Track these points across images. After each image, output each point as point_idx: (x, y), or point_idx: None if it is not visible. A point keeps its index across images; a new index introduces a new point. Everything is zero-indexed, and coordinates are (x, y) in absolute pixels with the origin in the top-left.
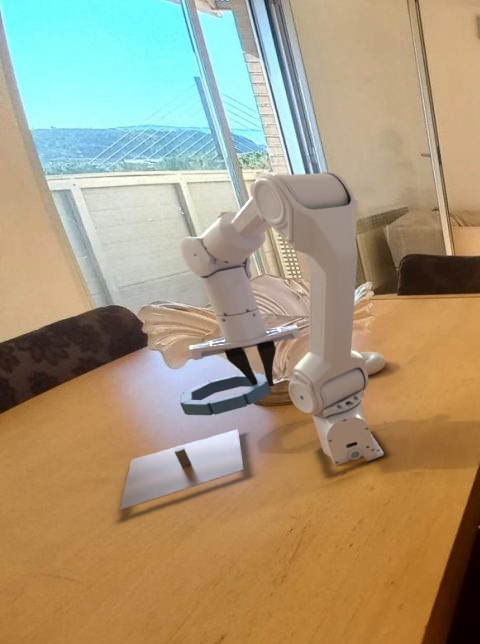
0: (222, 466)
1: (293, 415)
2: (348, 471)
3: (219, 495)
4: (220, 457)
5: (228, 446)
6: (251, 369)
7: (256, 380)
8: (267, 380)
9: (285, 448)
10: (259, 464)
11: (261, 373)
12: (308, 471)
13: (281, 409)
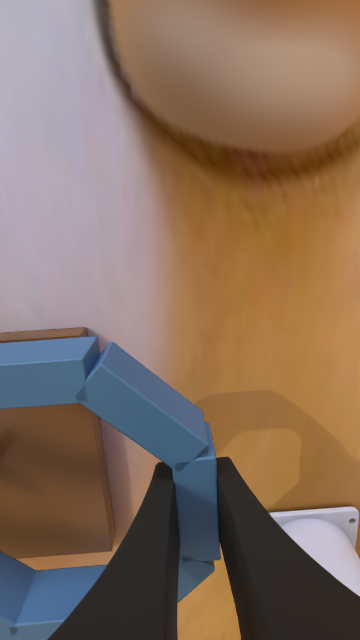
0: (68, 516)
1: (221, 278)
2: None
3: (73, 561)
4: (58, 475)
5: (68, 429)
6: (172, 577)
7: (178, 550)
8: (220, 542)
9: None
10: (135, 496)
11: (201, 441)
12: (219, 570)
13: (193, 199)
